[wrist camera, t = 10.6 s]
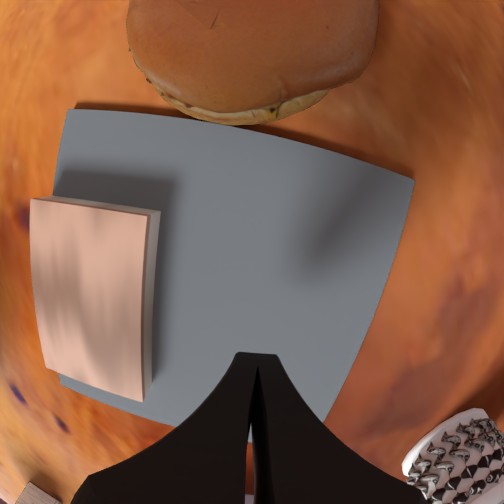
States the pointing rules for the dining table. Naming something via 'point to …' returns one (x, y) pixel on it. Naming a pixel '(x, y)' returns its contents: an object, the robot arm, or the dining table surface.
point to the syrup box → (35, 496)
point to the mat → (241, 249)
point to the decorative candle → (459, 461)
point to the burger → (250, 53)
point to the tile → (95, 290)
